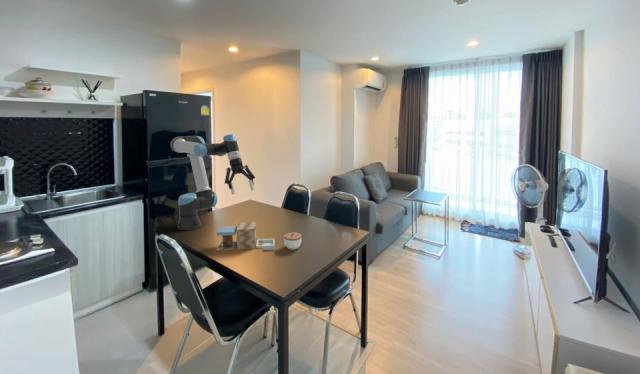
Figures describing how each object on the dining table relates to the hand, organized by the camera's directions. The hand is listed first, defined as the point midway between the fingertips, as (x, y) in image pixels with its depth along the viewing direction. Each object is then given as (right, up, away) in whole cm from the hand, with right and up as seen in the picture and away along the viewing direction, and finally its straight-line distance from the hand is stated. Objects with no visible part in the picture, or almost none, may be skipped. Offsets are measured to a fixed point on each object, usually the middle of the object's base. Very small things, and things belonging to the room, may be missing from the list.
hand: (243, 192), depth 188 cm
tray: (+15, -33, -6) cm, 37 cm away
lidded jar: (+31, -34, -7) cm, 46 cm away
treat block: (-7, -32, -9) cm, 34 cm away
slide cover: (-7, -23, -11) cm, 27 cm away
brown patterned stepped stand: (-3, -33, -8) cm, 34 cm away
